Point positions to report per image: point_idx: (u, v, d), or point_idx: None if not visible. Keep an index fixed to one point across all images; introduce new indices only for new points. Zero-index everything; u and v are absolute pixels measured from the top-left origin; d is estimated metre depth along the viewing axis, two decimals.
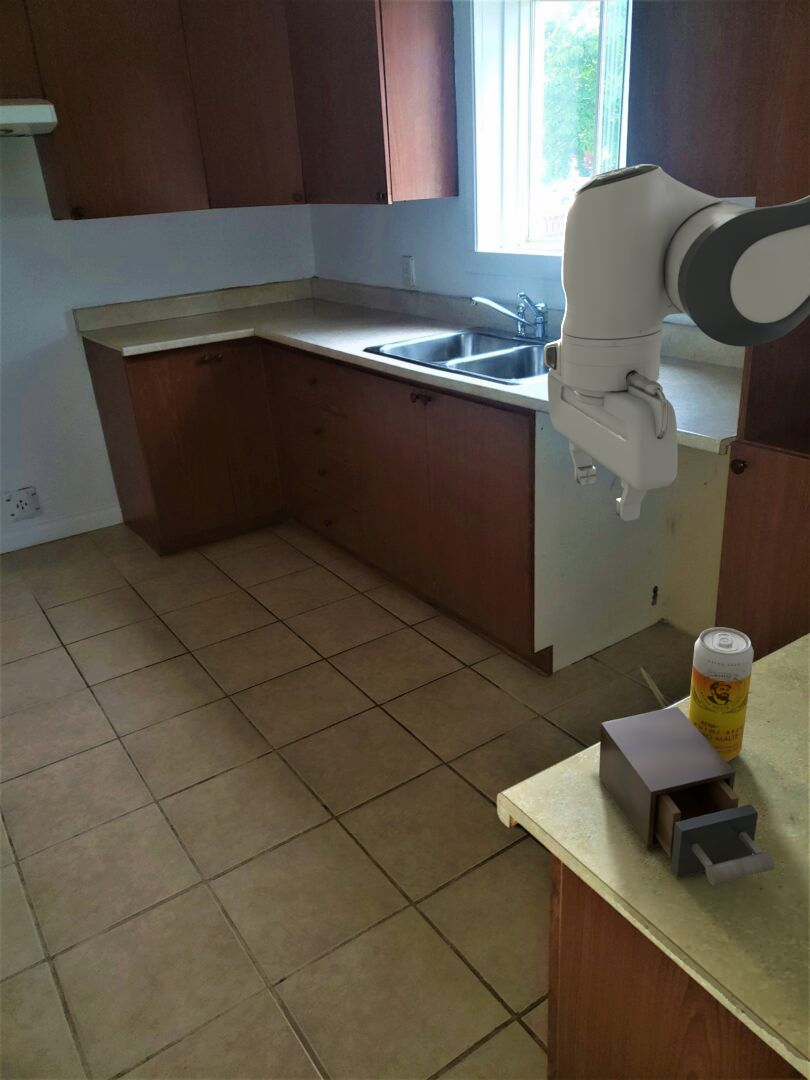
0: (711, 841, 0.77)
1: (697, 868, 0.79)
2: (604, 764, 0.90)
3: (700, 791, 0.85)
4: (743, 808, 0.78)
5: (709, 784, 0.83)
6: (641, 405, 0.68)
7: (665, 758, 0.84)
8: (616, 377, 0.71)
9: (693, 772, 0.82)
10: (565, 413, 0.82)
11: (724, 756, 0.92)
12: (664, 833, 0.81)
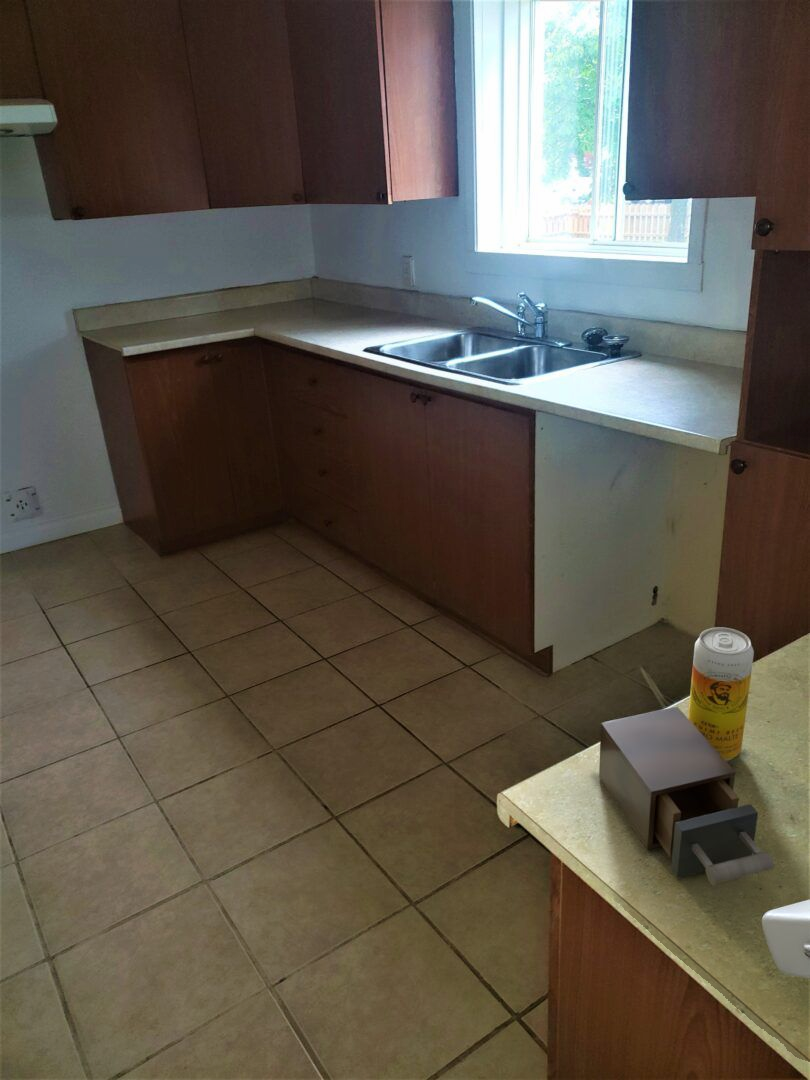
0: (711, 841, 0.77)
1: (697, 868, 0.79)
2: (604, 764, 0.90)
3: (700, 791, 0.85)
4: (743, 808, 0.78)
5: (709, 784, 0.83)
6: None
7: (665, 758, 0.84)
8: None
9: (693, 772, 0.82)
10: None
11: (724, 756, 0.92)
12: (664, 833, 0.81)
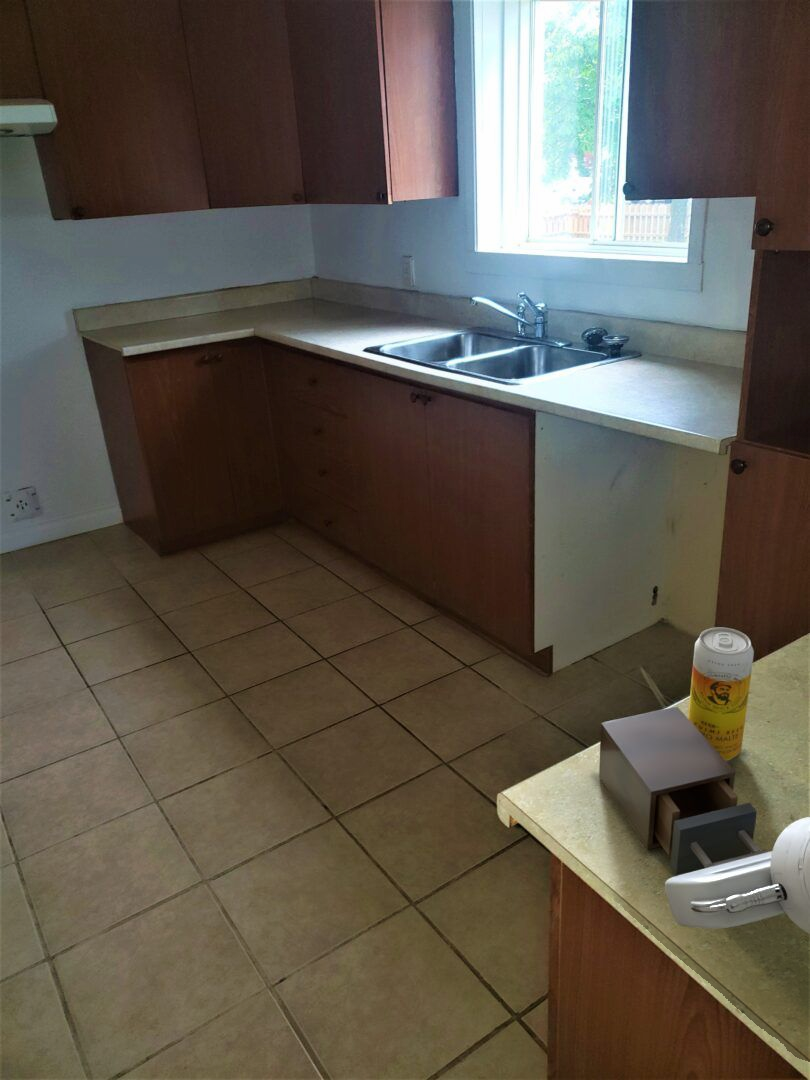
0: (710, 839, 0.78)
1: (696, 867, 0.79)
2: (604, 764, 0.90)
3: (699, 790, 0.85)
4: (742, 807, 0.78)
5: (708, 783, 0.83)
6: (720, 887, 0.61)
7: (665, 758, 0.84)
8: (778, 871, 0.61)
9: (693, 772, 0.82)
10: None
11: (724, 756, 0.92)
12: (663, 832, 0.81)
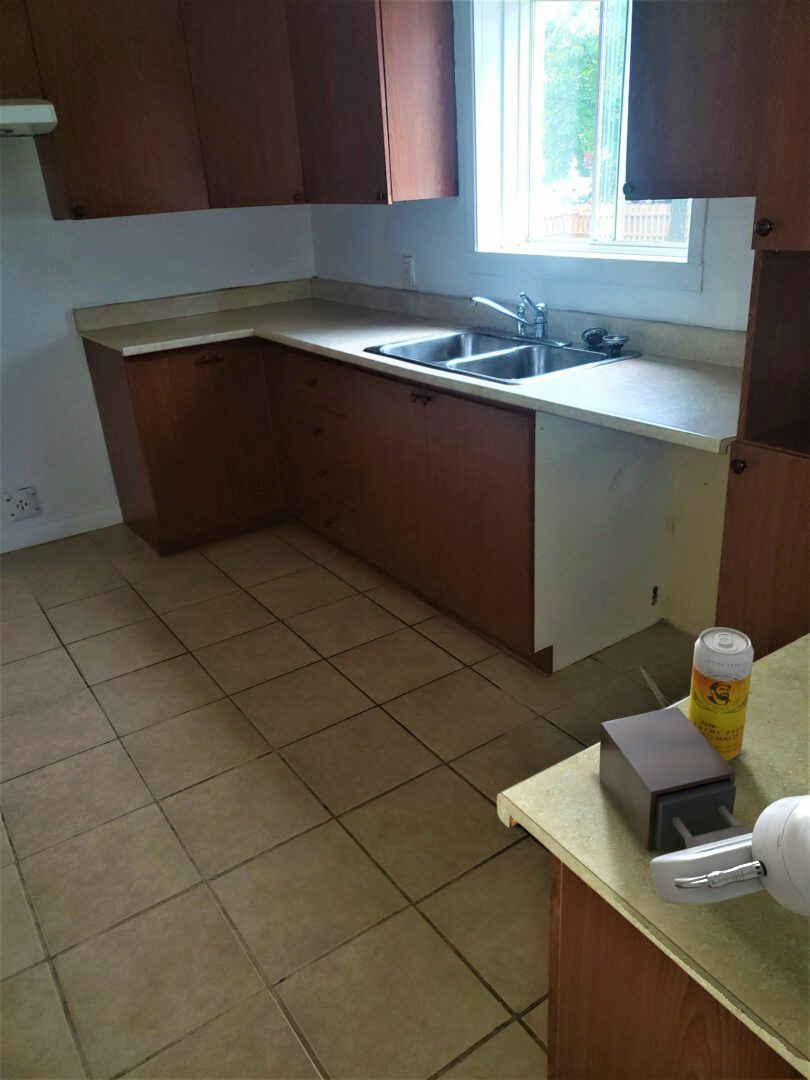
0: (691, 815, 0.80)
1: (678, 841, 0.82)
2: (604, 764, 0.90)
3: None
4: (722, 783, 0.81)
5: None
6: (703, 864, 0.63)
7: (665, 758, 0.84)
8: (758, 848, 0.63)
9: (693, 772, 0.82)
10: None
11: (724, 756, 0.92)
12: None
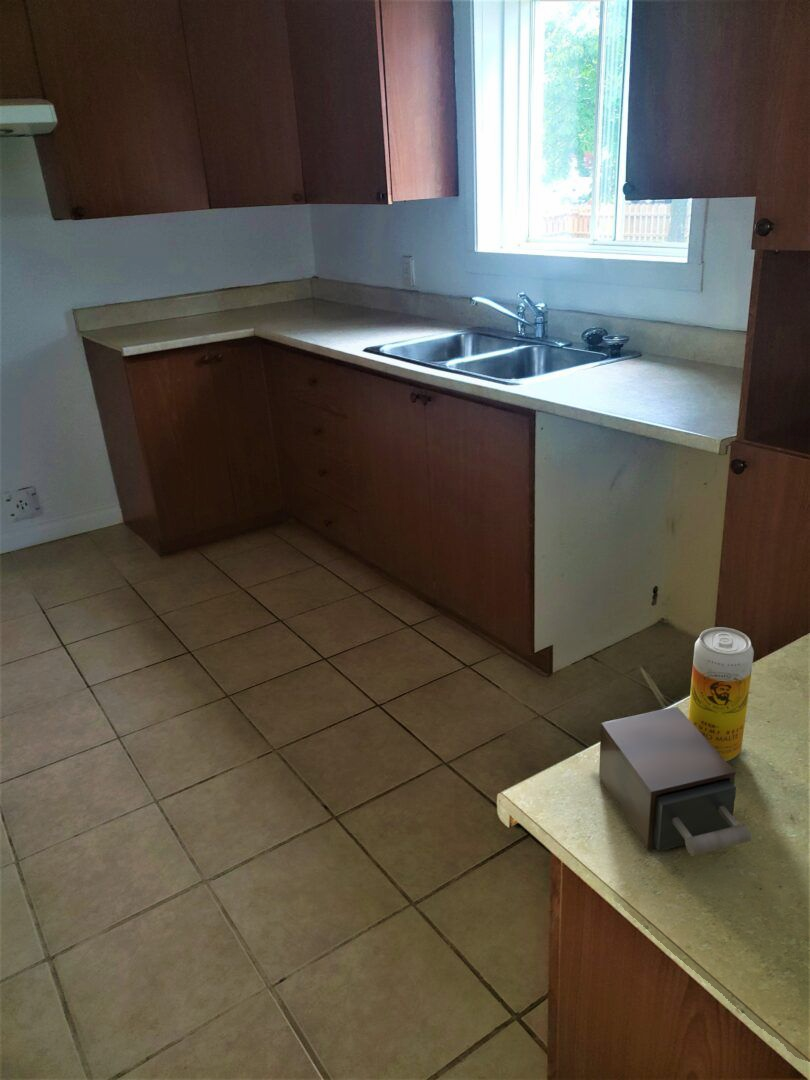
0: (691, 815, 0.80)
1: (678, 841, 0.82)
2: (604, 764, 0.90)
3: None
4: (722, 783, 0.81)
5: None
6: None
7: (665, 758, 0.84)
8: None
9: (693, 772, 0.82)
10: None
11: (724, 756, 0.92)
12: None
